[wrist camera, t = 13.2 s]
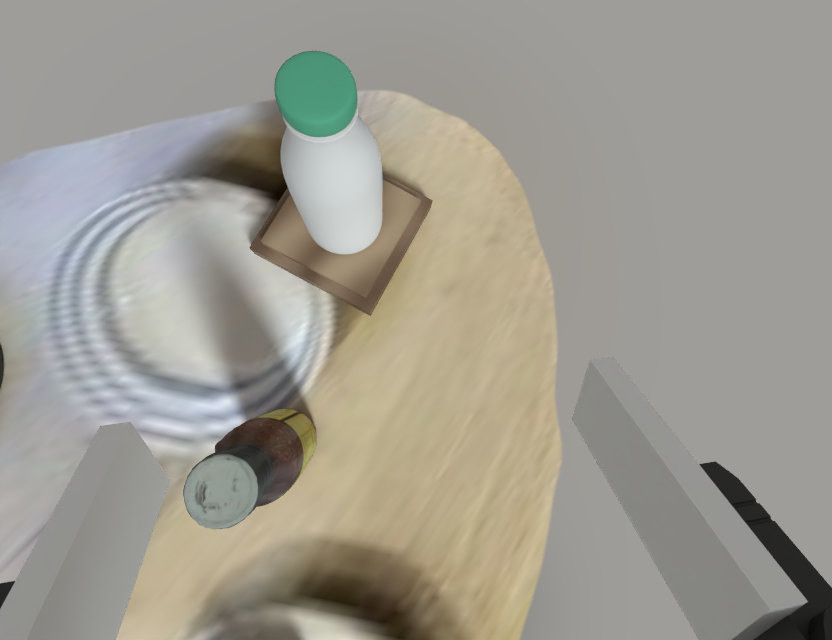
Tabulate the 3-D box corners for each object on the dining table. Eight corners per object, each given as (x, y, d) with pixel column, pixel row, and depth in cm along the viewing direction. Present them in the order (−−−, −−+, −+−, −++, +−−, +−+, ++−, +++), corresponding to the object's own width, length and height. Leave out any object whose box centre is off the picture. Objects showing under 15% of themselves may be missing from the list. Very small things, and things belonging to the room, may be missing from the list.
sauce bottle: (244, 452, 42) (124, 514, 22) (277, 396, 43) (190, 408, 23) (302, 483, 42) (232, 573, 22) (333, 426, 43) (293, 464, 23)
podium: (255, 253, 45) (246, 244, 42) (321, 149, 47) (317, 133, 44) (370, 315, 45) (369, 311, 42) (430, 208, 47) (433, 196, 44)
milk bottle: (386, 252, 43) (391, 142, 23) (310, 260, 42) (248, 153, 22) (377, 182, 44) (375, 19, 24) (303, 188, 43) (238, 25, 23)
